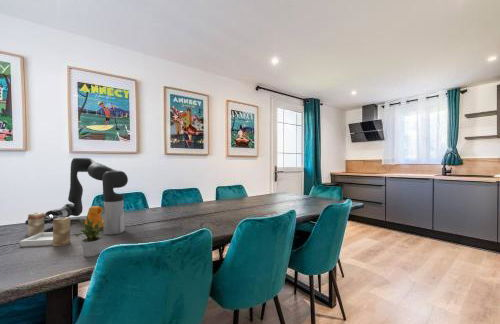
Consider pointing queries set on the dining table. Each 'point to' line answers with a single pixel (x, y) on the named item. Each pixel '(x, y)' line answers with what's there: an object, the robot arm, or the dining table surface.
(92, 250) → the house plant
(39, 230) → the maple post
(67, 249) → the dining table surface
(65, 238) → the oak post
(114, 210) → the robot arm
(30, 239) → the tray
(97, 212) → the bracket
